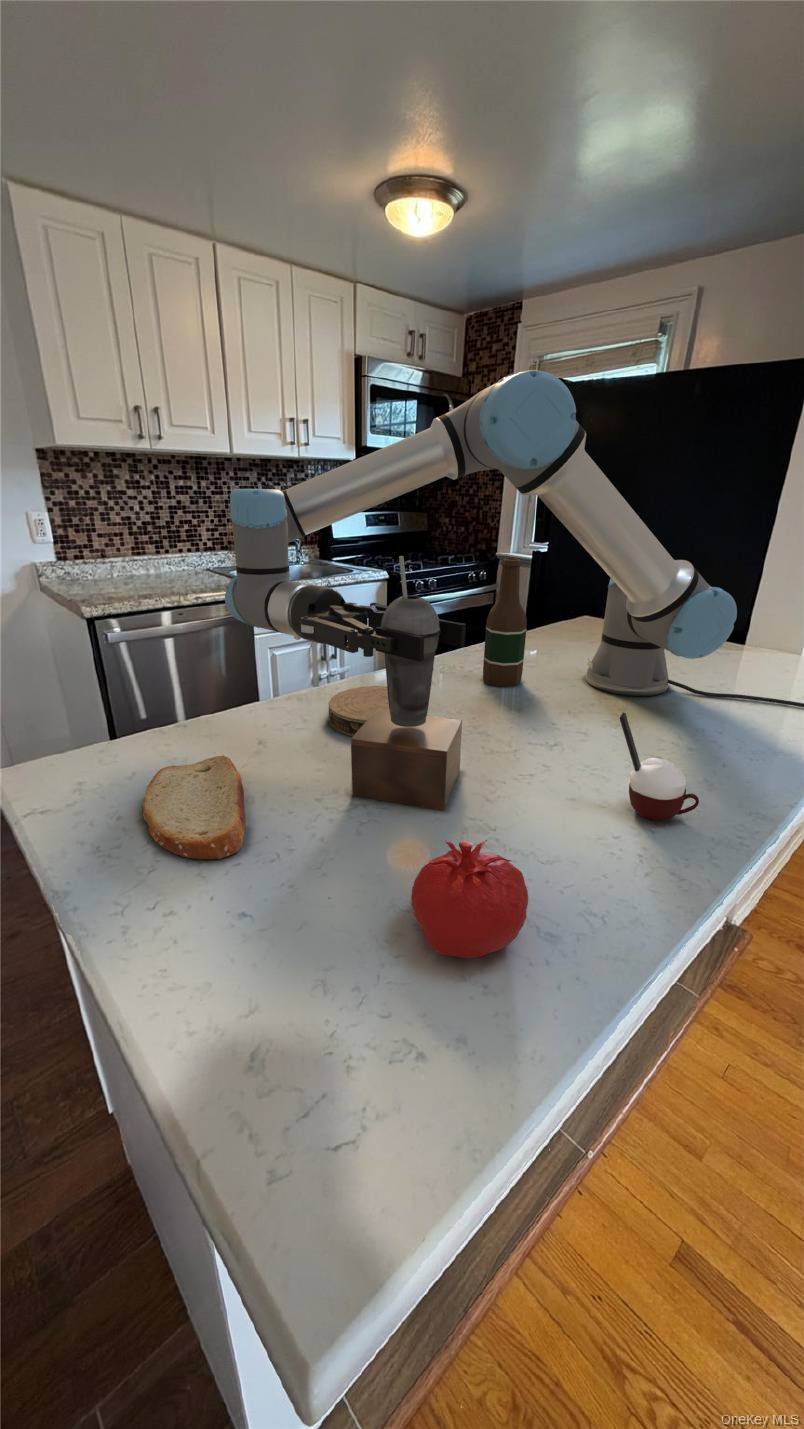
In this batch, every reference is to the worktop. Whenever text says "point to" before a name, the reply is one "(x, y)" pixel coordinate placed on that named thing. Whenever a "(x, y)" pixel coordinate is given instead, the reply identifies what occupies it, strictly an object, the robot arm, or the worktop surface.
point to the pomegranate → (469, 901)
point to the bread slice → (197, 809)
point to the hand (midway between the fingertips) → (443, 642)
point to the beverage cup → (405, 675)
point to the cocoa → (655, 784)
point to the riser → (406, 760)
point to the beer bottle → (505, 631)
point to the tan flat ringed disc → (356, 707)
